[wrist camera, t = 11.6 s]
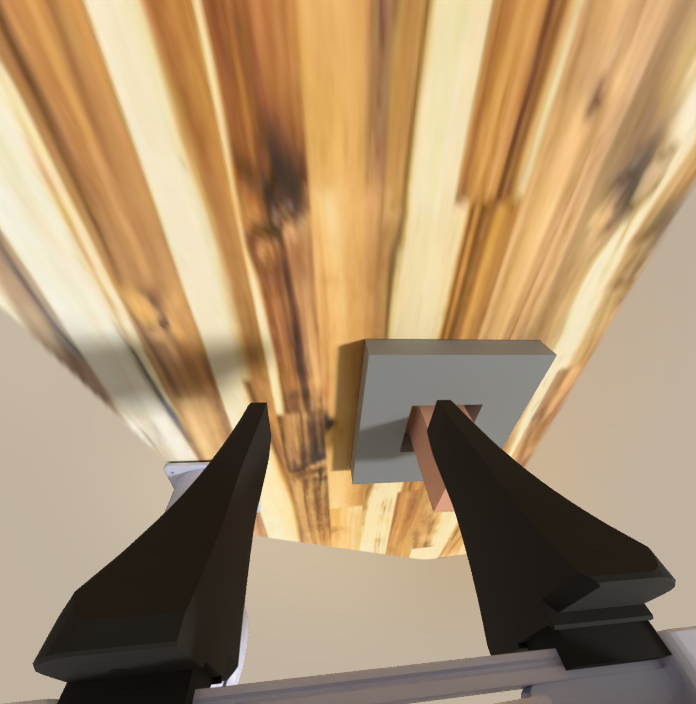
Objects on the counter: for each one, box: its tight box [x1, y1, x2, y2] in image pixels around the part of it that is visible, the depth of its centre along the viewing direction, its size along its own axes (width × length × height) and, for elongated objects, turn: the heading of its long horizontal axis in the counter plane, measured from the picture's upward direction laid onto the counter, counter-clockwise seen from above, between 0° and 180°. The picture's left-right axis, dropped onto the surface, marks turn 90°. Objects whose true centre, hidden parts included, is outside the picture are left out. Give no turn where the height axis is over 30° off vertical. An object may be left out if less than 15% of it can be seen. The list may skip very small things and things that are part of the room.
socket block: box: [351, 339, 557, 484], centre depth 26 cm, size 16×14×2 cm
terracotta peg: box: [406, 405, 472, 512], centre depth 23 cm, size 4×4×8 cm
